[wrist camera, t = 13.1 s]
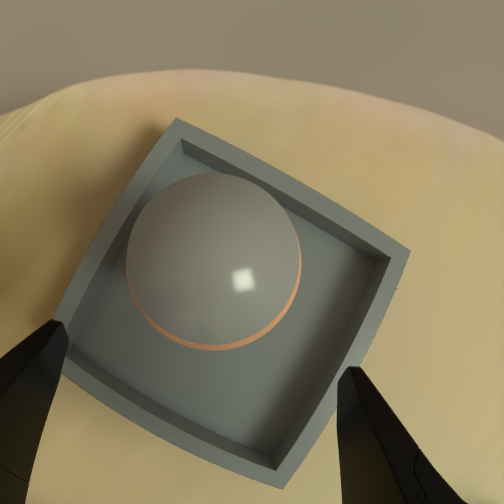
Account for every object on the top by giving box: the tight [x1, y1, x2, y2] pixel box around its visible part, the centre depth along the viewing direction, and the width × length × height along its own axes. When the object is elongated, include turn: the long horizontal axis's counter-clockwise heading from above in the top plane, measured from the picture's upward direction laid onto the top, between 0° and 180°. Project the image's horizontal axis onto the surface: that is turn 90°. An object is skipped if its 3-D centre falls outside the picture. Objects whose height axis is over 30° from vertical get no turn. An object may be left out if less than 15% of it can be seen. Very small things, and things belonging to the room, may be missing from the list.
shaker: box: [126, 173, 301, 351], centre depth 12 cm, size 4×4×10 cm
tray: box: [53, 118, 411, 490], centre depth 16 cm, size 15×15×2 cm
